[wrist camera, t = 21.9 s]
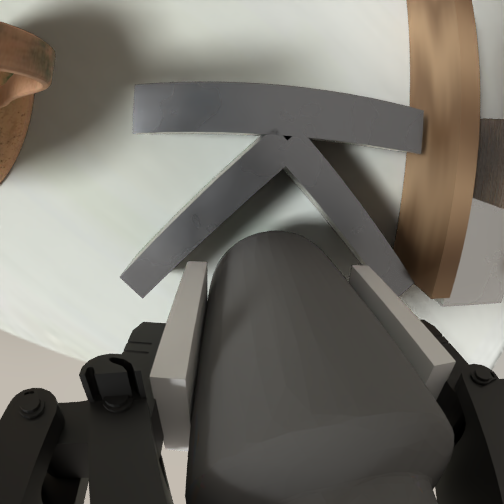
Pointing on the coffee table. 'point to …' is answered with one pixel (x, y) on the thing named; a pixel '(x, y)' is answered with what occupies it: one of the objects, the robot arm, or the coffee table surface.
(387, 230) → the coffee table surface
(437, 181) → the parallel wooden rails
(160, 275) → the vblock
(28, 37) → the mug
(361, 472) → the bottle
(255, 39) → the coffee table surface
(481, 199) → the grey stepped block
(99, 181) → the coffee table surface
